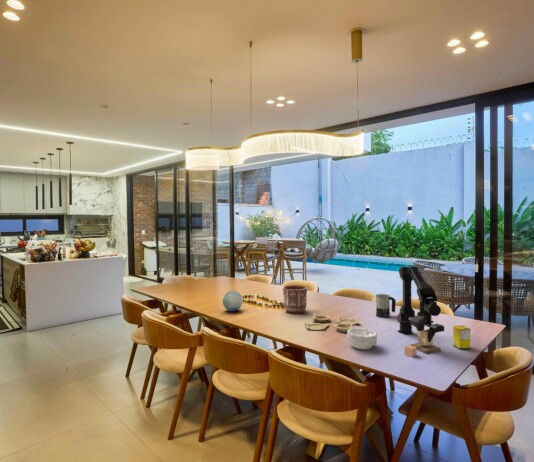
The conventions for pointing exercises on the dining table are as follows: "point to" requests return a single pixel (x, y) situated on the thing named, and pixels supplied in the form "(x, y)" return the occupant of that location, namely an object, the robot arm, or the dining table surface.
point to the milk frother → (384, 305)
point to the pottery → (295, 298)
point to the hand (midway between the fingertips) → (425, 340)
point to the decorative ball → (232, 301)
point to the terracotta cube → (410, 351)
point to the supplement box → (461, 337)
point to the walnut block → (426, 348)
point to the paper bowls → (362, 338)
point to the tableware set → (342, 326)
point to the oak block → (424, 338)
